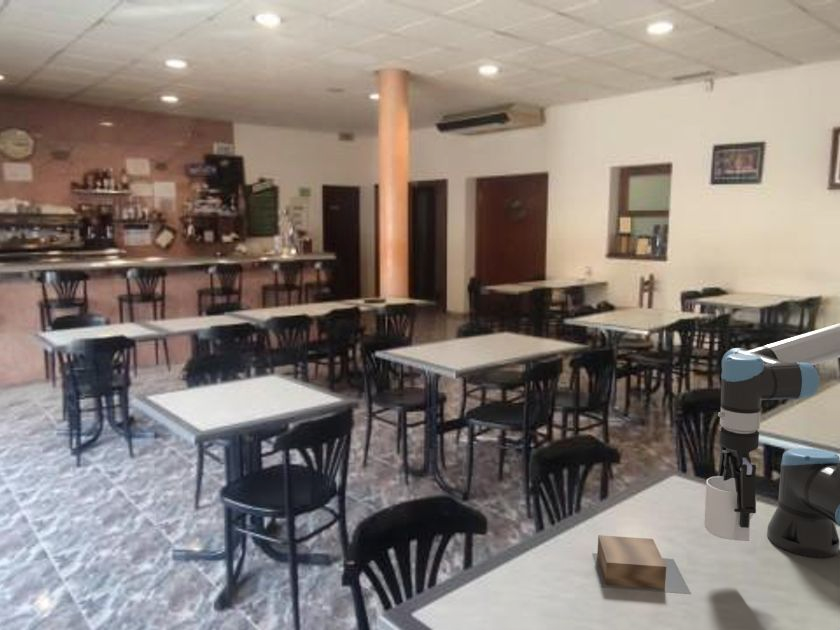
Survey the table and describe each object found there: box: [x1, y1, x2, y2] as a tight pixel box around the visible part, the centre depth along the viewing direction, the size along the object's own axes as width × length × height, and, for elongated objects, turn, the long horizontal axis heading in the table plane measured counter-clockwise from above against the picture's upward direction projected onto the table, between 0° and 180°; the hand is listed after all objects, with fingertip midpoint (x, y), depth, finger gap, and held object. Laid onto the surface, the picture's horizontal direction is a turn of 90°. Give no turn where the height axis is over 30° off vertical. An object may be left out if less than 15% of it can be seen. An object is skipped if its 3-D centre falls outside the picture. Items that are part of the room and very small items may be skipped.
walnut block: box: [596, 534, 666, 589], centre depth 140 cm, size 12×12×5 cm
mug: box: [704, 475, 755, 541], centre depth 138 cm, size 9×12×11 cm
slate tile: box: [591, 552, 692, 595], centre depth 140 cm, size 18×14×1 cm
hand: (733, 529), depth 138 cm, fingers closed on mug, 9 cm apart
